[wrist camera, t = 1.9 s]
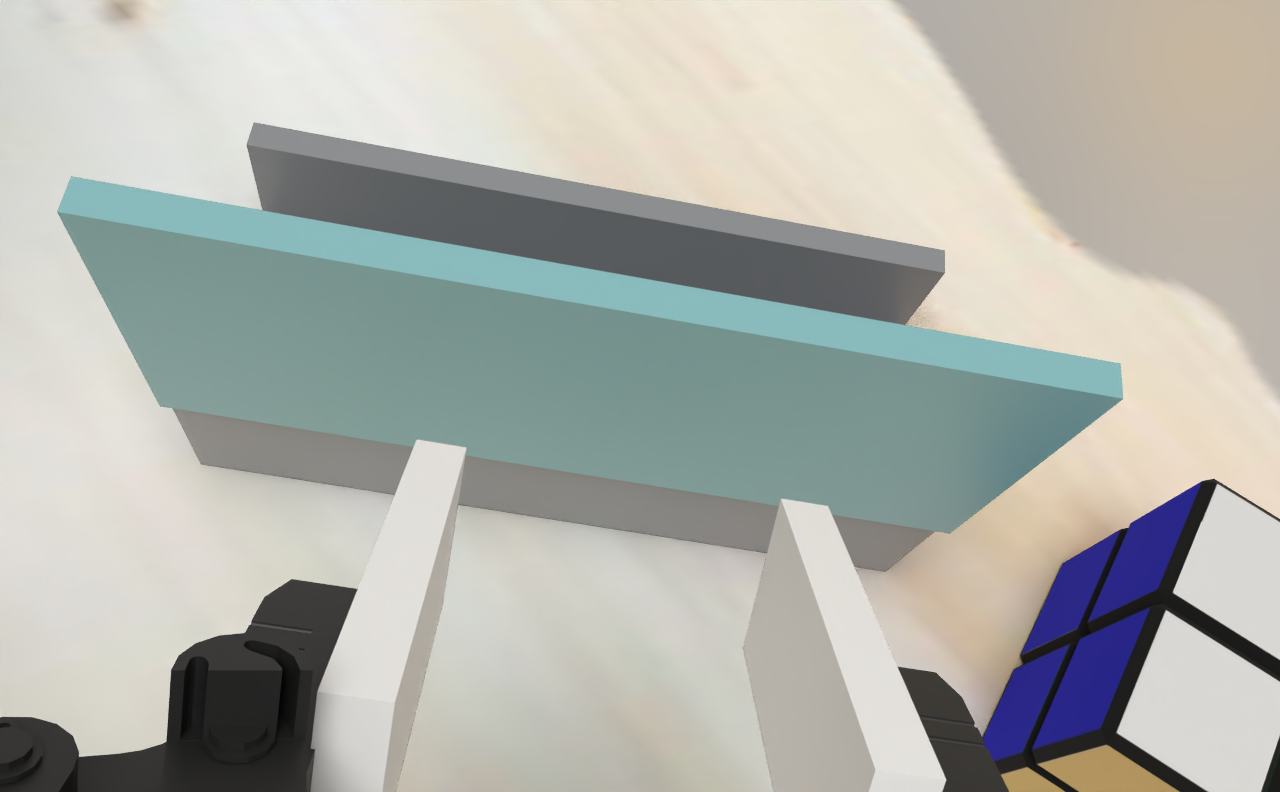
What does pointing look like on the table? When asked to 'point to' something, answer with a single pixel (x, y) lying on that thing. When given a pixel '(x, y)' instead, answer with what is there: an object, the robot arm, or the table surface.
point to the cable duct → (583, 237)
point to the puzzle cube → (1154, 659)
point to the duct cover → (570, 363)
